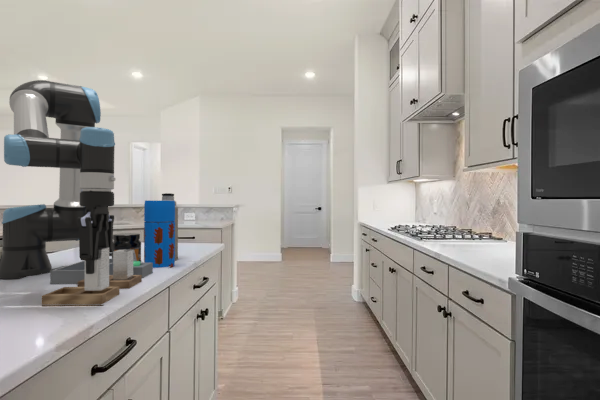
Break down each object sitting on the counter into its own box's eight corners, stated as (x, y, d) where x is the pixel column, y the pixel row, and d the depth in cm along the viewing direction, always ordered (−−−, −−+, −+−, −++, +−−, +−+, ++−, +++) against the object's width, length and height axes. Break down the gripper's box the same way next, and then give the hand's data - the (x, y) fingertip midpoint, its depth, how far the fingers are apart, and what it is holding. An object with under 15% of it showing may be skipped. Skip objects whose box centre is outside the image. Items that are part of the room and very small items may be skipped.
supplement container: (133, 267, 137) (133, 235, 137) (105, 267, 137) (105, 235, 137) (146, 262, 148) (146, 233, 148) (120, 262, 148) (120, 232, 148)
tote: (50, 286, 107) (50, 270, 107) (90, 271, 129) (90, 258, 129) (92, 285, 108) (92, 270, 108) (125, 271, 130) (125, 258, 130)
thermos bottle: (163, 258, 159) (163, 193, 159) (180, 258, 159) (181, 193, 159) (154, 261, 151) (154, 193, 151) (172, 261, 151) (173, 193, 151)
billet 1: (84, 290, 90) (84, 249, 90) (93, 286, 94) (93, 246, 94) (101, 290, 90) (101, 249, 90) (109, 286, 94) (109, 246, 94)
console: (113, 280, 115) (113, 267, 115) (125, 274, 124) (125, 262, 124) (142, 280, 116) (142, 267, 116) (152, 274, 125) (152, 262, 125)
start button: (124, 272, 118) (124, 262, 118) (130, 270, 122) (130, 260, 122) (137, 272, 118) (137, 262, 118) (142, 269, 122) (142, 260, 122)
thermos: (180, 265, 142) (181, 200, 142) (161, 270, 132) (162, 200, 132) (157, 263, 146) (158, 200, 146) (137, 268, 136) (137, 200, 136)
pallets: (41, 306, 87) (41, 295, 87) (94, 283, 111) (94, 275, 111) (102, 306, 87) (102, 295, 87) (141, 283, 111) (141, 275, 111)
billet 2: (113, 286, 105) (113, 251, 105) (119, 283, 109) (119, 249, 109) (127, 286, 105) (127, 250, 105) (133, 283, 109) (133, 249, 109)
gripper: (95, 189, 83) (94, 293, 83) (127, 191, 100) (126, 277, 100) (61, 189, 83) (60, 293, 83) (99, 191, 100) (98, 277, 100)
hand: (96, 284), depth 92 cm, fingers closed on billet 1, 4 cm apart
